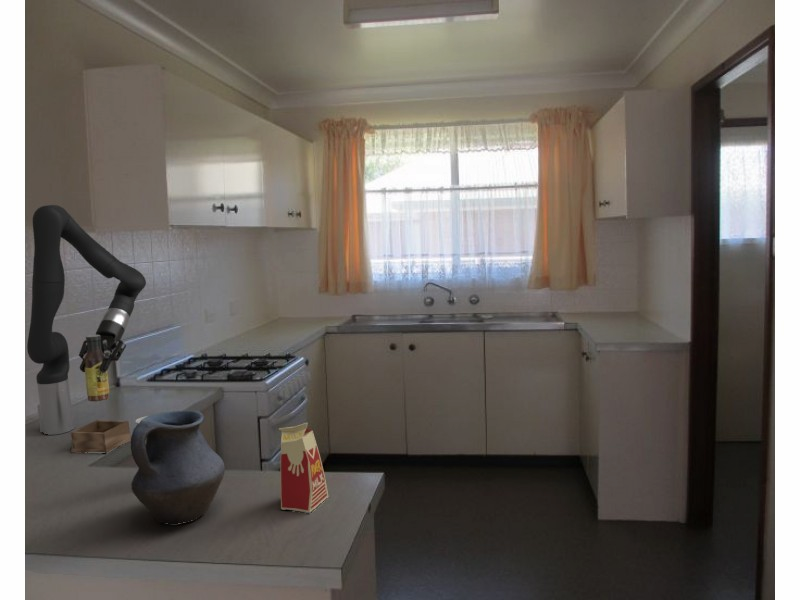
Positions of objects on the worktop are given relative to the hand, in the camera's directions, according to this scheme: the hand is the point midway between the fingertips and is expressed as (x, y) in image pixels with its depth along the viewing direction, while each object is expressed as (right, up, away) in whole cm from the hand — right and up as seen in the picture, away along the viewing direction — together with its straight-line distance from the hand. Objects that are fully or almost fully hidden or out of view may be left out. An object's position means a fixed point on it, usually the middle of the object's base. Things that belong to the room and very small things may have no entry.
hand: (92, 371), depth 198 cm
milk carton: (+70, -27, -44) cm, 87 cm away
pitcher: (+43, -29, -47) cm, 70 cm away
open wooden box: (+1, -24, +4) cm, 24 cm away
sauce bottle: (+1, -9, +3) cm, 10 cm away
